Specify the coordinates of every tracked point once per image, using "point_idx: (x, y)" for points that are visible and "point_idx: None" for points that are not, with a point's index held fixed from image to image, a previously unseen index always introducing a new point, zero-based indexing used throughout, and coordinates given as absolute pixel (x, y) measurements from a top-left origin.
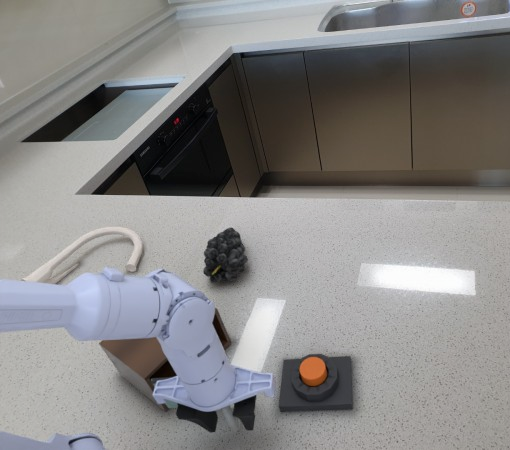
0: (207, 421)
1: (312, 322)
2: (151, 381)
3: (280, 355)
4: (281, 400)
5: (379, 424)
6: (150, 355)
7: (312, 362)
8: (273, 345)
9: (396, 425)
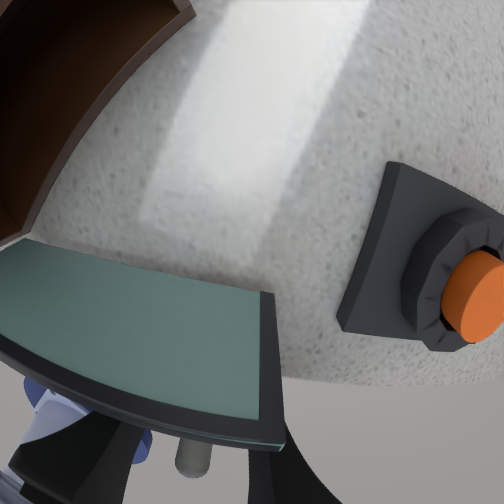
0: (135, 443)
1: (467, 55)
2: None
3: (376, 116)
4: (355, 315)
5: (474, 359)
6: None
7: (500, 288)
8: (355, 66)
9: (487, 360)
